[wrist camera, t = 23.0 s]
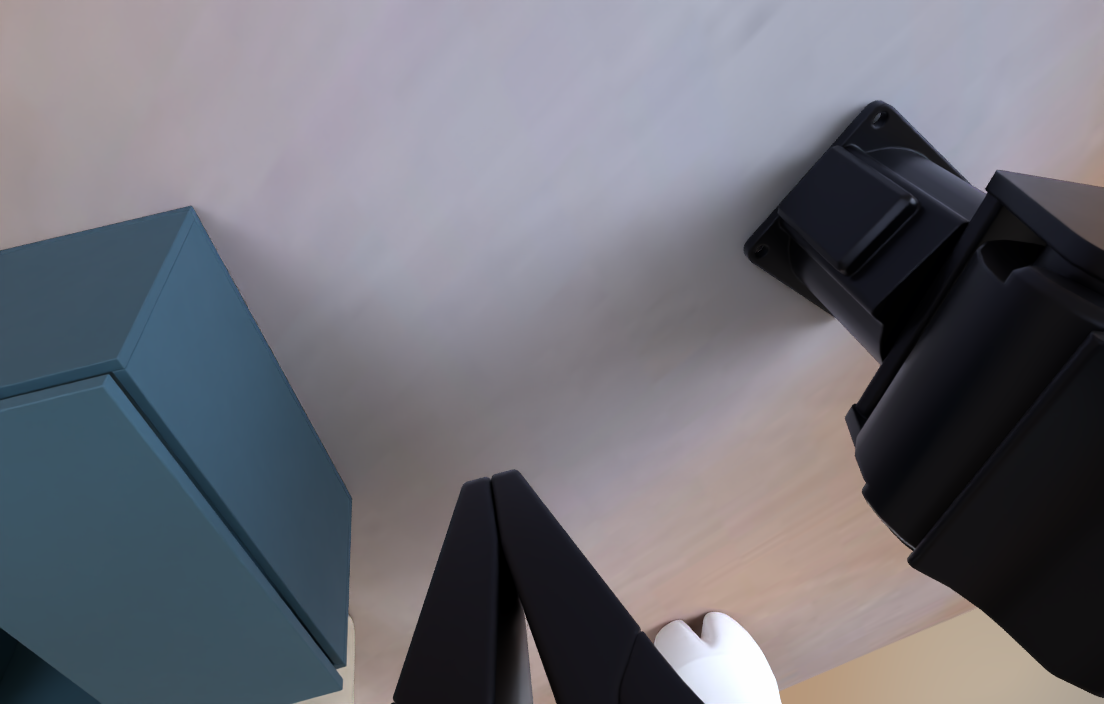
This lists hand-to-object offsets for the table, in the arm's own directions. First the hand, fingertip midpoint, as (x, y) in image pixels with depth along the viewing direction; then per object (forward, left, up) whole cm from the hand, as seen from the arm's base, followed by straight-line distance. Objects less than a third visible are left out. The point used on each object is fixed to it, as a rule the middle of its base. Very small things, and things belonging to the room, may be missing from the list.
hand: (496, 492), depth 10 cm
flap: (+3, +12, -5) cm, 13 cm away
